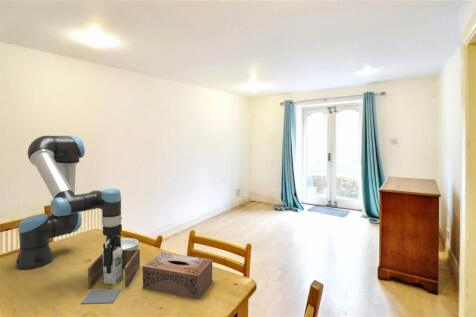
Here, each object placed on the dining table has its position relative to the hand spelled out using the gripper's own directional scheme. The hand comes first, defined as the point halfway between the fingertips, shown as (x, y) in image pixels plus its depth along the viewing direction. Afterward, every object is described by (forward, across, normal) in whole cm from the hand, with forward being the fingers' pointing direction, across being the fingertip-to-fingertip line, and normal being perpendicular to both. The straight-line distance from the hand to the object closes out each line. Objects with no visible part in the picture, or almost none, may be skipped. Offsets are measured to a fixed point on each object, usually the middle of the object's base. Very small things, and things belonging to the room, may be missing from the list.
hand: (113, 275), depth 117 cm
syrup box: (+3, 0, 0) cm, 3 cm away
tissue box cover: (+3, -5, -29) cm, 30 cm away
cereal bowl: (+3, +25, +5) cm, 26 cm away
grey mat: (+2, -12, 0) cm, 12 cm away
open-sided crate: (+3, +3, 0) cm, 4 cm away
